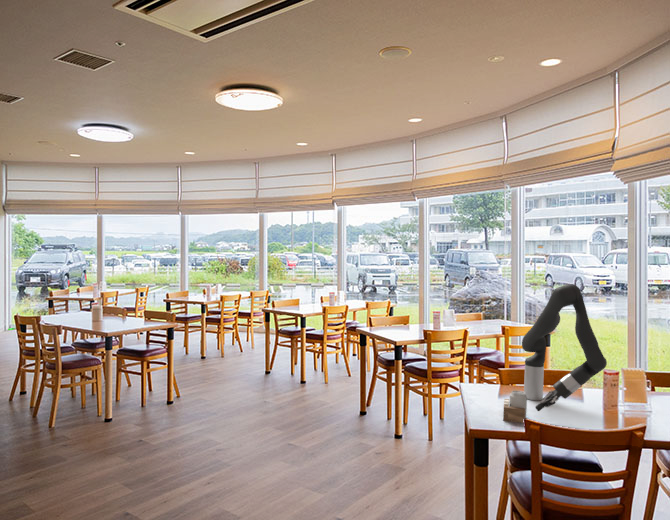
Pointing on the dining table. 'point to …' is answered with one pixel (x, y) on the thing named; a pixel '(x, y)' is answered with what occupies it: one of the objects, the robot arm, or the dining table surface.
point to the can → (518, 400)
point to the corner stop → (513, 413)
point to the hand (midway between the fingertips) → (536, 409)
